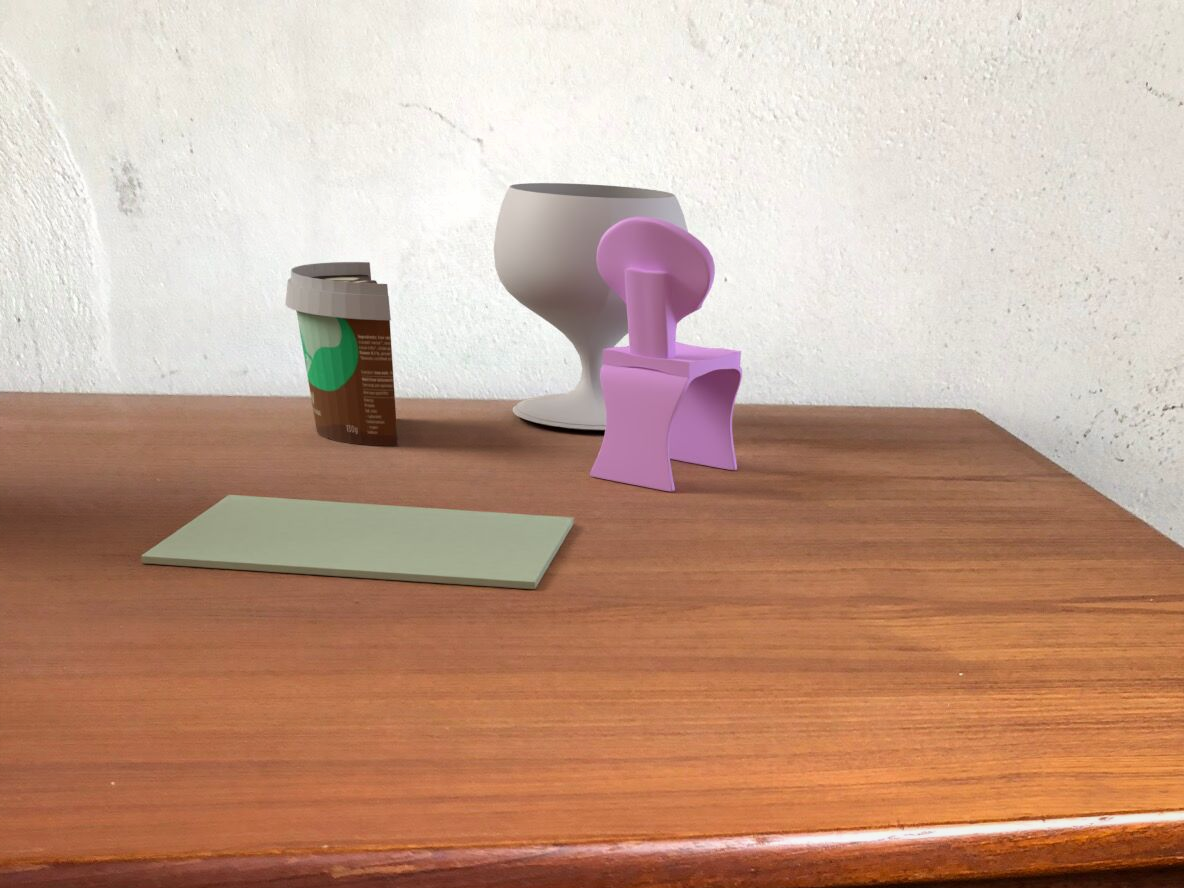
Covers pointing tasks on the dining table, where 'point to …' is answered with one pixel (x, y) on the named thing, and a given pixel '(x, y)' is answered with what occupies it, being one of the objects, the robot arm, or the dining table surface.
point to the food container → (346, 350)
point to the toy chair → (662, 360)
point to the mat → (367, 542)
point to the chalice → (570, 278)
